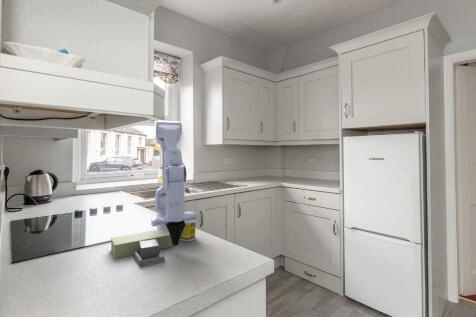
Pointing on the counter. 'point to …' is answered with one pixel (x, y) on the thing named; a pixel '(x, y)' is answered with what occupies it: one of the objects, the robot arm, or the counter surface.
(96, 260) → the counter surface
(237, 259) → the counter surface
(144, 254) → the chute block
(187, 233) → the supplement bottle
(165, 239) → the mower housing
